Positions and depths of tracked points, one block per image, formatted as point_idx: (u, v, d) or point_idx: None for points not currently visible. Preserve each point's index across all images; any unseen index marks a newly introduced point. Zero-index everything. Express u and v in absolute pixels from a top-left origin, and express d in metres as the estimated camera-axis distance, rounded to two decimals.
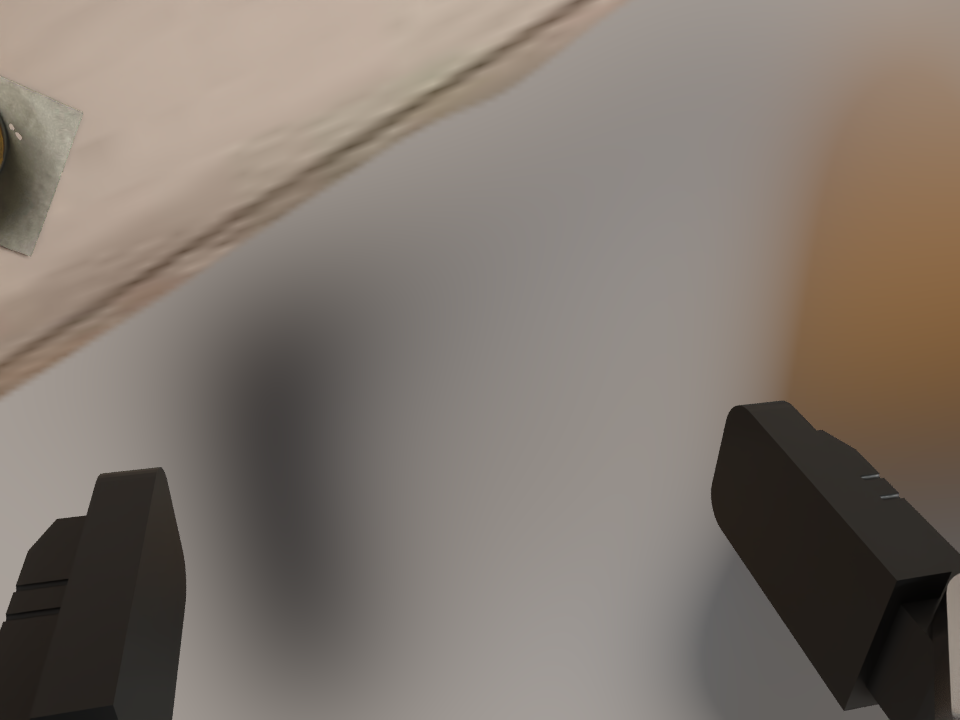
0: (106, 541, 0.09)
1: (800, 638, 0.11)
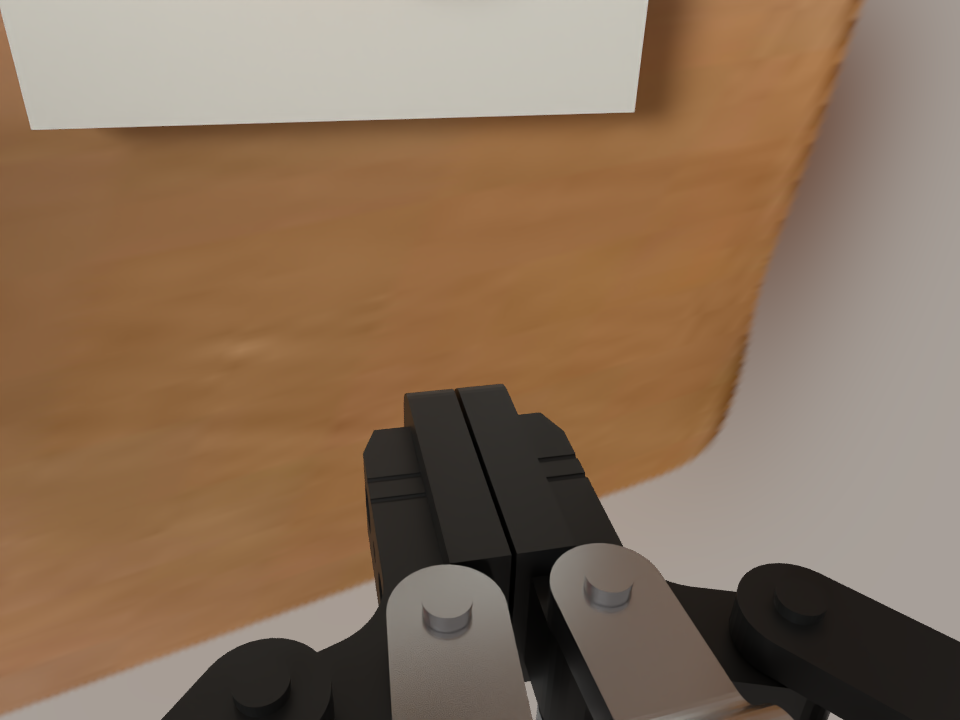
0: (441, 441, 0.11)
1: None
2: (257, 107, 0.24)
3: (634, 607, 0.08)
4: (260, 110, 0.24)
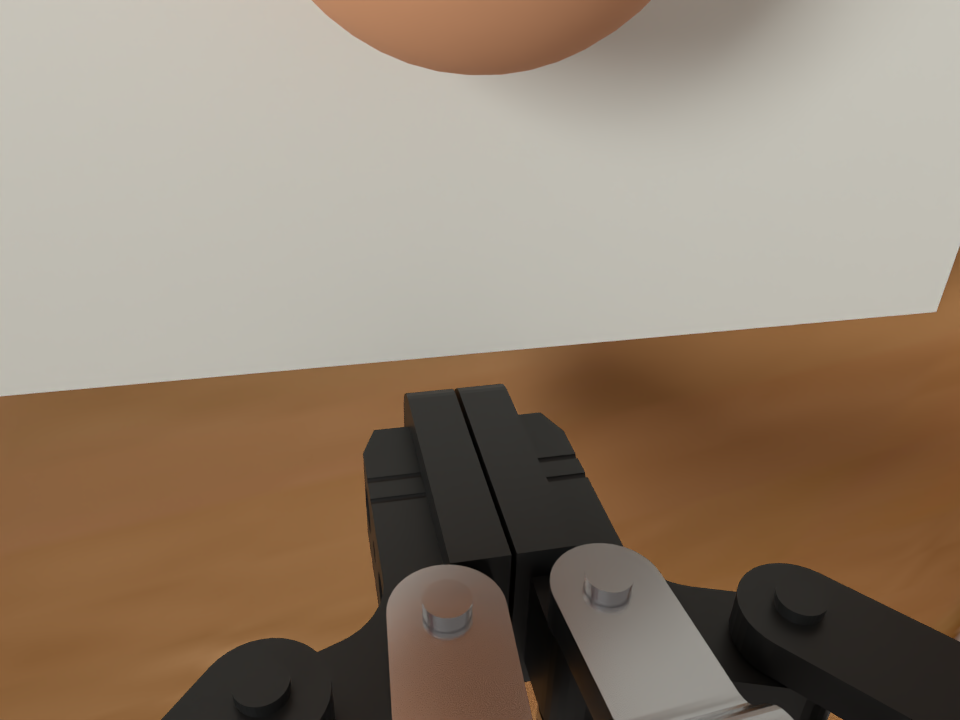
0: (441, 441, 0.11)
1: None
2: (247, 347, 0.12)
3: (634, 607, 0.08)
4: (253, 352, 0.12)
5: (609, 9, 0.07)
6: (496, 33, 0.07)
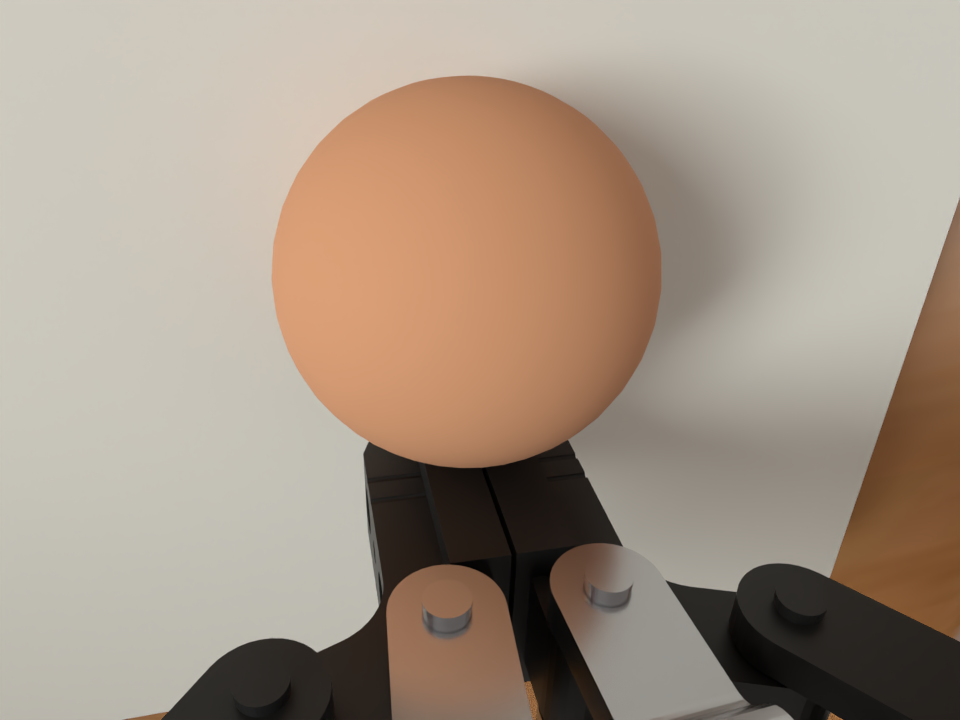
0: None
1: None
2: None
3: (634, 607, 0.08)
4: None
5: (606, 268, 0.08)
6: (516, 284, 0.07)
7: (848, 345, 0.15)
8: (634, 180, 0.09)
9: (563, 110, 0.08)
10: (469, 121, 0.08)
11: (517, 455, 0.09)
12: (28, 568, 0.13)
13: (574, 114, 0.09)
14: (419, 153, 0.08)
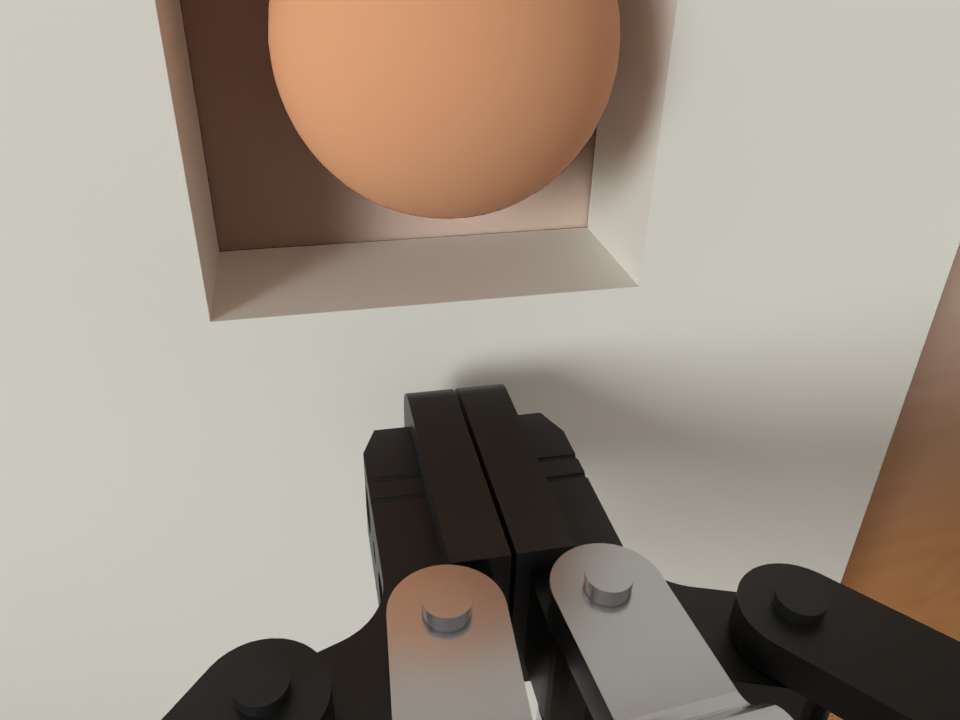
0: (441, 442, 0.11)
1: None
2: None
3: (634, 607, 0.08)
4: None
5: None
6: None
7: (799, 551, 0.17)
8: None
9: None
10: None
11: None
12: None
13: None
14: None
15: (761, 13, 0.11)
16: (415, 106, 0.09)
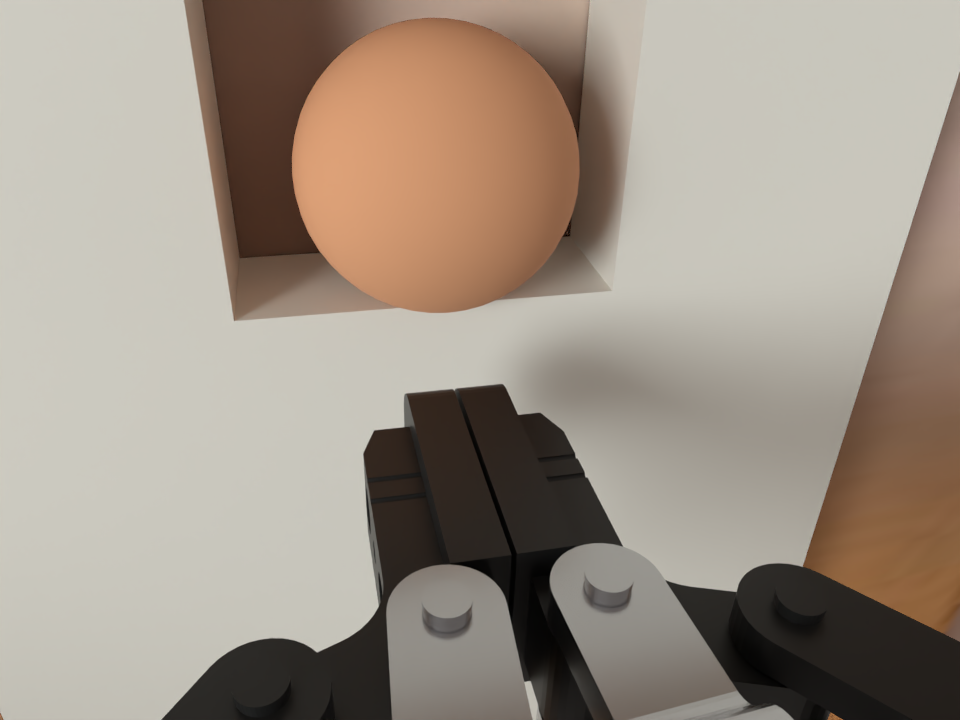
0: (441, 441, 0.11)
1: None
2: None
3: (634, 607, 0.08)
4: None
5: None
6: None
7: (764, 531, 0.19)
8: None
9: None
10: None
11: None
12: (134, 708, 0.17)
13: None
14: None
15: (716, 54, 0.13)
16: (404, 290, 0.12)
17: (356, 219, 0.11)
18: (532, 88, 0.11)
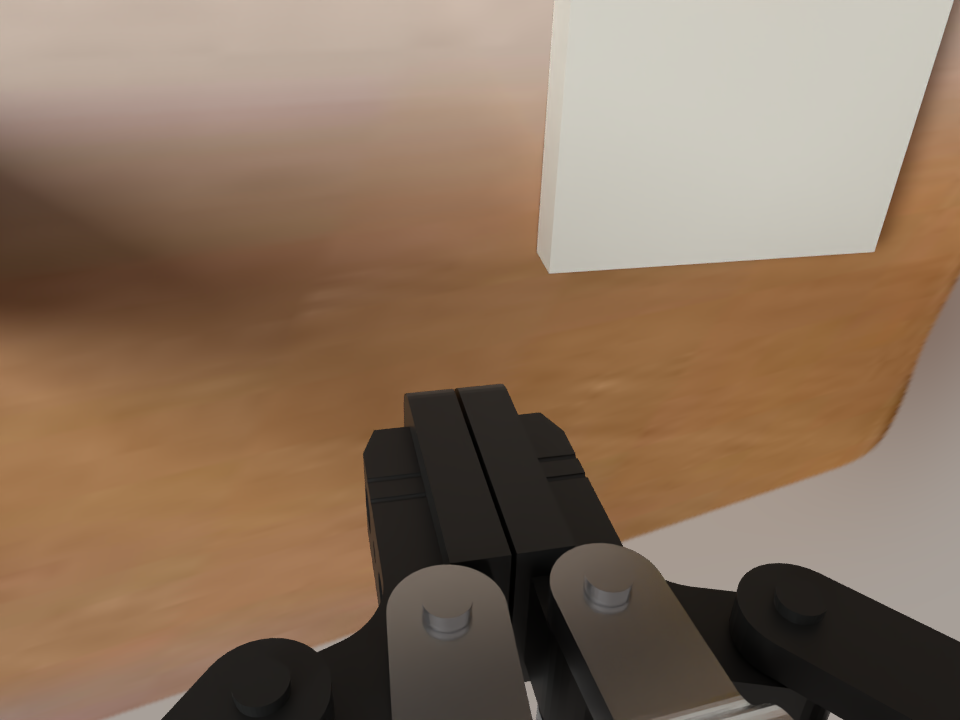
0: (441, 441, 0.11)
1: None
2: (667, 257, 0.41)
3: (634, 607, 0.08)
4: (669, 259, 0.41)
5: None
6: None
7: (889, 128, 0.40)
8: None
9: None
10: None
11: None
12: (605, 192, 0.39)
13: None
14: None
15: None
16: None
17: None
18: None
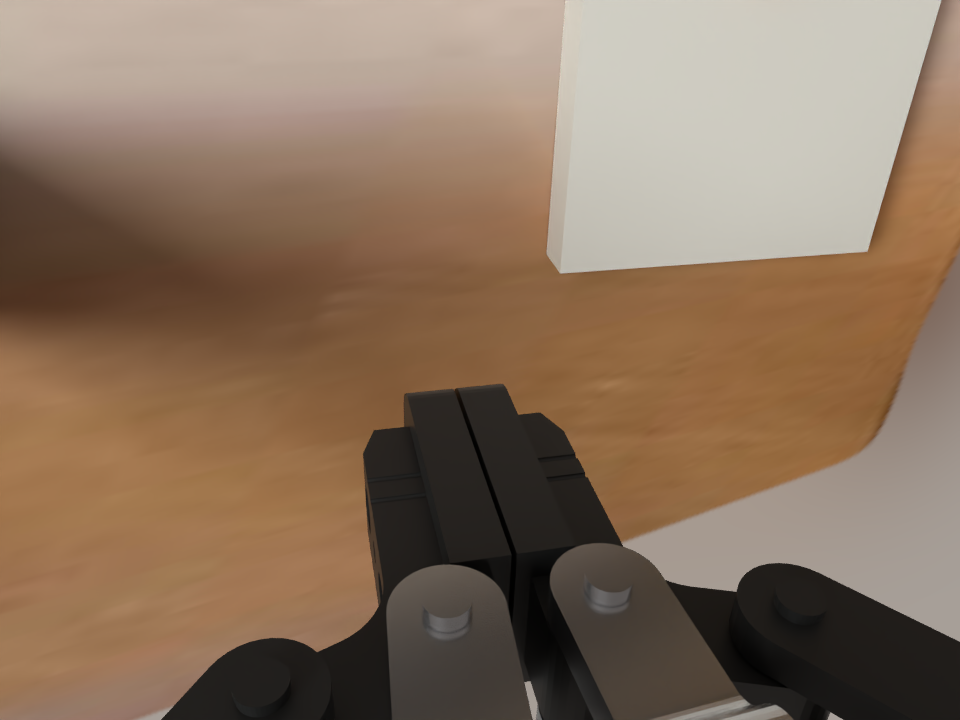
0: (441, 441, 0.11)
1: None
2: (672, 257, 0.43)
3: (634, 608, 0.08)
4: (673, 259, 0.43)
5: None
6: None
7: (880, 133, 0.42)
8: None
9: None
10: None
11: None
12: (614, 194, 0.40)
13: None
14: None
15: None
16: None
17: None
18: None
